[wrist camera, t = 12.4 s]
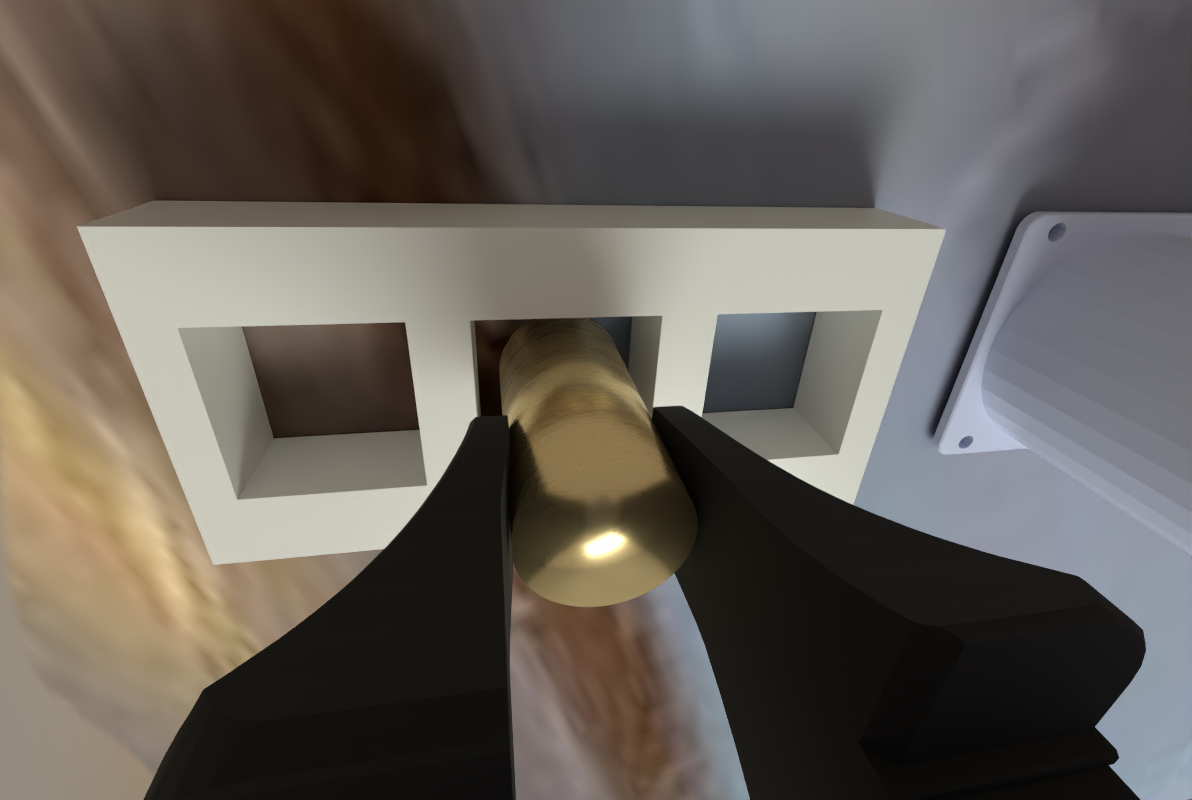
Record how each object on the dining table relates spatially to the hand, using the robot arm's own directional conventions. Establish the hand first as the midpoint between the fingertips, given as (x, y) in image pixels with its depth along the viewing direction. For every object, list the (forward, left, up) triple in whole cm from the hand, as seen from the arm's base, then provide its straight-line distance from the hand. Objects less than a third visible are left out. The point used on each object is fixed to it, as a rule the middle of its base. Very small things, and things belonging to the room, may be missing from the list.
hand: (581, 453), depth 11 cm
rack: (0, 0, -5) cm, 5 cm away
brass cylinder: (0, 0, -3) cm, 3 cm away
